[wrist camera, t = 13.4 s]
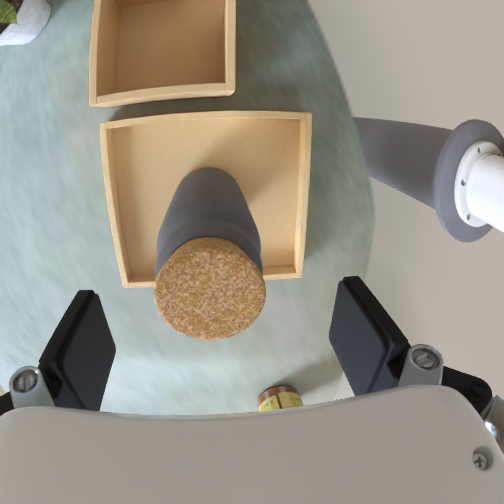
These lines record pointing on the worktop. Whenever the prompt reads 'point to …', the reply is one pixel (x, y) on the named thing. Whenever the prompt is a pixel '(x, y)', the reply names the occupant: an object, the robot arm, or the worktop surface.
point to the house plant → (22, 20)
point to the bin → (161, 50)
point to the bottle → (209, 258)
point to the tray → (200, 156)
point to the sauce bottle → (279, 398)
